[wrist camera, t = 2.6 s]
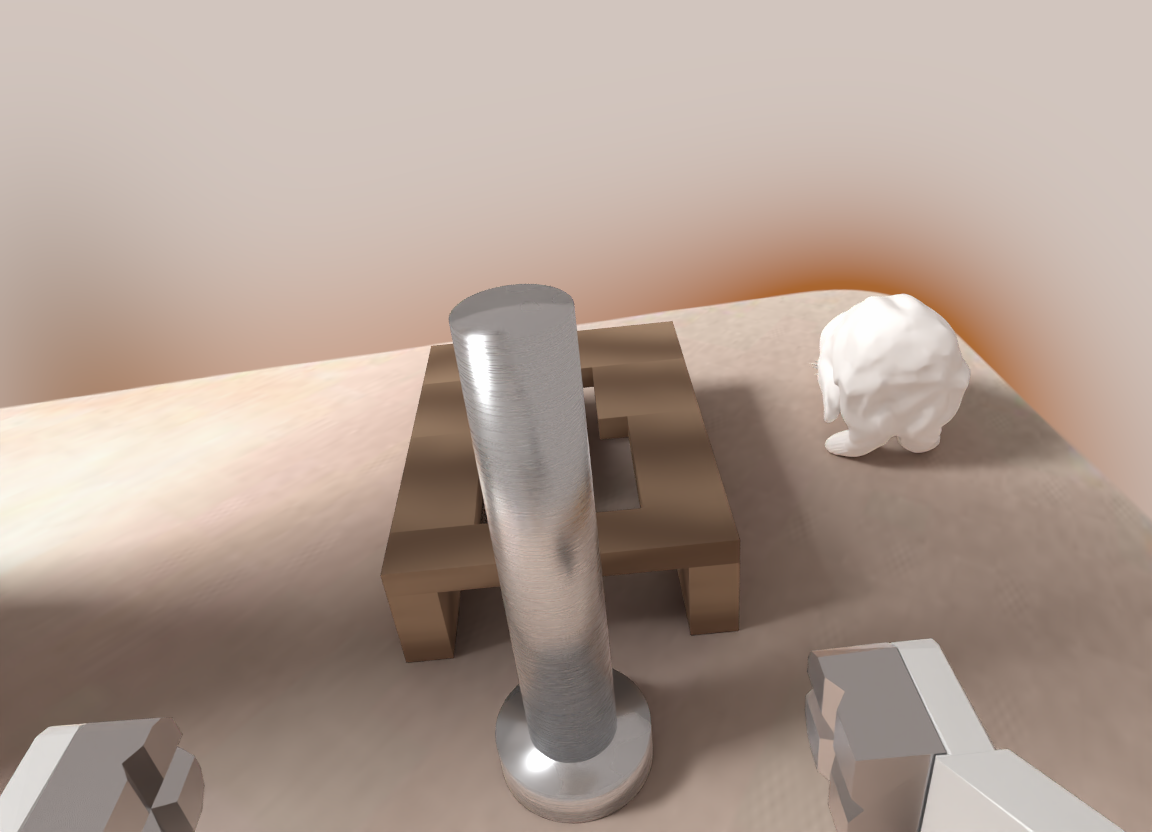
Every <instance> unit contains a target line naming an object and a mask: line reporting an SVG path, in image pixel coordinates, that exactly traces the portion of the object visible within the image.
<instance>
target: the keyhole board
mask: <svg viewBox="0 0 1152 832" xmlns="http://www.w3.org/2000/svg"><path fill="white" fill-rule="evenodd" d="M577 336H578V346H579V355H580V365H581V375H582V384H583V388H585V387H594V391H595V400H596V408H597V417H598V426H599V434H600V440H601V439H611V438H621V437H629V442H630V448H631V454H632V460H633V466H634V472H635V478H636V484H637V490H638V496H639V502H640V508H637V509H627V510H617V511H607V512H597V513H596V519H597V529H598V539H599V548H600V558H601V568H602V576H611V575H621V574H632V573H642V572H652V571H662V570H672V569H677V570H678V575H679V580H680V584H681V589H682V594H683V599H684V604H685V609H686V614H687V619H688V623H689V628H690V633H691V635H696V634H706V633H717V632H727V631H737V630H739V573H740V538H739V535H738V532H737V528H736V525H735V522H734V519H733V515H732V512H731V509H730V506H729V503H728V499H727V496H726V493H725V490H724V486H723V483H722V480H721V477H720V473H719V470H718V467H717V464H716V460H715V457H714V454H713V451H712V448H711V444H710V441H709V438H708V435H707V431H706V428H705V425H704V422H703V418H702V415H701V412H700V409H699V406H698V402H697V399H696V396H695V393H694V389H693V386H692V383H691V380H690V376H689V373H688V370H687V367H686V363H685V360H684V357H683V354H682V351H681V347H680V344H679V341H678V338H677V334H676V331H675V328H674V325H673V321H670V322H661V323H651V324H641V325H631V326H622V327H612V328H602V329H592V330H583V331H577ZM482 498H483V494H482V489H481V484H480V479H479V474H478V469H477V463H476V458H475V453H474V448H473V443H472V438H471V433H470V427H469V422H468V417H467V412H466V407H465V402H464V397H463V392H462V386H461V381H460V376H459V371H458V366H457V361H456V356H455V350H454V345H453V344H446V345H436V346H431V350H430V354H429V359H428V363H427V368H426V372H425V377H424V381H423V386H422V391H421V395H420V400H419V404H418V409H417V413H416V418H415V422H414V427H413V431H412V436H411V440H410V445H409V449H408V454H407V458H406V463H405V467H404V472H403V476H402V481H401V485H400V490H399V494H398V499H397V503H396V508H395V512H394V517H393V521H392V526H391V530H390V535H389V539H388V544H387V548H386V553H385V557H384V562H383V566H382V571H381V579H382V582H383V585H384V589H385V592H386V595H387V599H388V602H389V605H390V609H391V612H392V615H393V619H394V622H395V625H396V629H397V632H398V636H399V639H400V642H401V646H402V649H403V652H404V656H405V659H406V662H416V661H426V660H437V659H447V658H454V650H455V640H456V631H457V621H458V612H459V602H460V593H461V590H468V589H478V588H488V587H498V586H500V581H499V576H498V571H497V566H496V561H495V556H494V551H493V546H492V540H491V535H490V530H489V525H488V523H485V524H480V522H481V510H482Z"/></svg>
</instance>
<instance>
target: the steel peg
mask: <svg viewBox="0 0 1152 832" xmlns="http://www.w3.org/2000/svg"><path fill="white" fill-rule="evenodd" d="M449 324H450V330H451V335H452V340H453V345H454V350H455V356H456V361H457V366H458V371H459V376H460V381H461V386H462V392H463V397H464V402H465V407H466V412H467V417H468V422H469V427H470V433H471V438H472V443H473V448H474V453H475V458H476V463H477V469H478V474H479V479H480V484H481V489H482V494H483V499H484V504H485V510H486V515H487V520H488V525H489V530H490V535H491V540H492V546H493V551H494V556H495V561H496V566H497V571H498V576H499V581H500V587H501V592H502V597H503V602H504V607H505V612H506V617H507V623H508V628H509V633H510V638H511V643H512V648H513V653H514V659H515V664H516V669H517V674H518V679H519V685H518V686H516V688H515V689H514V690H513V691H512V692H511V693H510V694H509V696H508V697H507V699H506V700H505V702H504V704H503V705H502V707H501V710H500V712H499V715H498V718H497V723H496V732H495V735H496V744H497V748H498V753H499V757H500V761H501V766H502V770H503V774H504V778H505V781H506V783H507V786H508V788H509V789H510V791H511V793H512V794H513V795H514V797H515V798H516V799H517V800H518V802H520V803H521V804H522V805H523V806H524V807H525V808H527V809H528V810H530V811H531V812H533V813H534V814H536V815H538V816H541V817H543V818H546V819H549V820H552V821H557V822H562V823H582V822H588V821H593V820H597V819H600V818H603V817H606V816H608V815H610V814H612V813H614V812H616V811H617V810H619V809H620V808H622V807H623V806H625V805H626V804H627V803H628V802H629V801H631V800H632V799H633V798H634V796H635V795H636V794H637V793H638V792H639V790H640V789H641V788H642V786H643V785H644V783H645V781H646V779H647V777H648V775H649V772H650V769H651V765H652V759H653V742H652V728H651V717H650V711H649V707H648V704H647V702H646V700H645V697H644V696H643V694H642V693H641V691H640V689H639V688H638V687H637V686H636V685H635V684H634V683H633V682H632V681H631V680H630V679H629V678H628V677H626V676H625V675H623V674H622V673H620V672H618V671H616V670H614V669H612V664H611V654H610V645H609V635H608V625H607V616H606V606H605V597H604V587H603V577H602V568H601V558H600V548H599V539H598V529H597V519H596V510H595V500H594V490H593V481H592V471H591V462H590V452H589V442H588V433H587V423H586V413H585V404H584V394H583V384H582V375H581V365H580V355H579V346H578V336H577V326H576V317H575V307H574V301H573V299H572V298H571V296H570V295H569V294H567V293H566V292H564V291H562V290H560V289H558V288H555V287H551V286H546V285H537V284H516V285H507V286H502V287H496V288H492V289H488V290H485V291H482V292H479V293H477V294H474V295H472V296H470V297H468V298H466V299H464V300H463V301H461V302H460V303H459V304H457V306H455V307H454V308H453V310H452V311H451V313H450V315H449Z"/></svg>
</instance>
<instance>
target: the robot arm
mask: <svg viewBox="0 0 1152 832" xmlns="http://www.w3.org/2000/svg"><path fill="white" fill-rule="evenodd" d="M807 672H808V675H809V678H810V681H811V684H812V687H813V688H812V689H811V690H810V691H809V692H808V694H807V695H806V703H805V716H806V725H807V734H808V739H809V743H810V747H811V752H812V755H813V758H814V762H815V765H816V768H817V771H818V772H819V773H820V774H821V775H822V776H824V777H825V778H826V779H827V780H828V781H830V784H829V796H828V806H829V809H830V812H831V815H832V819H833V822H834V825H835V828H836V831H837V832H1126V831H1124V830H1123V829H1121V828H1120V827H1118V826H1117V825H1116V824H1114V823H1113V822H1111V821H1110V820H1109V819H1107V818H1106V817H1104V816H1103V815H1101V814H1100V813H1099V812H1097V811H1096V810H1094V809H1093V808H1092V807H1090V806H1089V805H1087V804H1086V803H1084V802H1083V801H1082V800H1080V799H1079V798H1077V797H1076V796H1075V795H1073V794H1072V793H1070V792H1069V791H1068V790H1066V789H1065V788H1063V787H1062V786H1060V785H1059V784H1058V783H1056V782H1055V781H1053V780H1052V779H1051V778H1049V777H1048V776H1046V775H1045V774H1043V773H1042V772H1041V771H1039V770H1038V769H1036V768H1035V767H1034V766H1032V765H1031V764H1029V763H1028V762H1026V761H1025V760H1024V759H1022V758H1021V757H1019V756H1018V755H1017V754H1015V753H1014V752H1012V751H1011V750H1009V749H1000V750H996V749H995V747H994V745H993V743H992V741H991V740H990V738H989V736H988V734H987V732H986V730H985V729H984V727H983V725H982V723H981V721H980V719H979V717H978V716H977V714H976V712H975V710H974V708H973V706H972V704H971V703H970V701H969V699H968V697H967V695H966V693H965V692H964V690H963V688H962V686H961V684H960V682H959V680H958V679H957V677H956V675H955V673H954V671H953V669H952V667H951V666H950V664H949V662H948V660H947V658H946V656H945V655H944V653H943V651H942V649H941V647H940V645H939V644H938V643H937V642H936V641H934V640H933V639H932V638H930V639H920V640H910V641H900V642H892V643H888V642H884V643H876V644H867V645H858V646H849V647H841V648H832V649H823V650H814V651H811V652H810V655H809V657H808V668H807ZM181 737H182V732H181V731H180V729H179V727H178V726H177V724H176V723H175V721H174V719H173V718H150V719H136V720H123V721H109V722H96V723H85V724H74V725H62V726H51V727H48V728H47V729H45V730H44V731H43V732H42V733H40V734H39V735H38V736H37V737H36V738H35V739H34V741H33V743H32V744H31V746H30V748H29V749H28V751H27V753H26V754H25V756H24V758H23V759H22V761H21V763H20V764H19V766H18V768H17V769H16V771H15V773H14V774H13V776H12V778H11V779H10V781H9V783H8V784H7V786H6V788H5V789H4V791H3V792H2V794H1V796H0V832H195V829H196V826H197V824H198V821H199V818H200V815H201V812H202V807H203V797H204V786H205V785H204V780H203V775H202V770H201V767H200V765H199V763H198V761H197V759H196V757H195V756H194V755H192V754H190V753H188V752H187V751H185V750H183V749H181V748H179V747H178V744H179V742H180V739H181Z"/></svg>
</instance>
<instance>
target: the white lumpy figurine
mask: <svg viewBox="0 0 1152 832" xmlns="http://www.w3.org/2000/svg"><path fill="white" fill-rule="evenodd" d="M816 362H817V363H818V364H814V363H810V364H812V365H815V366H817V367H813V368H816V369H818V373H817V374H815V375H818V382H819V385H820V388H821V391H822V394H823V404H824V421H825V422H826V423H830V422H832V421H834V420H835V419H836V418H837V417H838V415H839V413H840V411H841V415H842V418H843V420H844V422H845V423H846V424H847V426H848V428H849V430H844V431H841V432H839V433H836V434H834V435H832V436H830V437H829V438H828V439H827V440H826V443H825V447H826V449H827V450H828V451H829V452H830V453H833V454H835V455H842V456H849V457H858V456H862V455H865V454H867V453H869V452H871V451H873V450H875V449H877V448H878V447H880V446H883V445H884V444H886V443H887V442H888V441H889V439H890V438H892V437H894V436H898V438H897V440H898V442H899V444H900V445H901V446H902V447H904V448H905V449H907V450H909V451H911V452H913V453H921V452H926V451H929V450H931V449H934V448H935V447H936V446H938V444H939V443H940V438H941V437H940V433H941V431H942V426H944V425H945V424H946V423H948V422H949V421H950V420H951V419H952V418H953V417H954V416H955V414H956V413H957V411H958V409H959V407H960V404H961V402H962V398H963V395H964V393H965V391H966V389H967V387H968V385H969V380H970V368H969V366H968V365H967V363H966V362H965V360H964V359H963V357H962V354H961V351H960V348H959V345H958V341H957V337H956V334H955V332H954V330H953V329H952V328H951V326H950V325H949V324H948V322H947V321H946V320H945V319H944V318H943V317H941V316H940V315H939V314H938V313H936V312H935V311H934V310H932V309H931V308H929V307H928V306H926V305H925V304H923V303H922V302H921V301H919V300H918V299H916V298H914V297H912V296H910V295H907V294H898V295H892V296H887V297H880V296H870V297H868V298H866V299H865V300H864V301H863V302H860V303H858V304H856V305H854V306H853V307H852V308H851V309H850V310H849V311H846V312H843V313H841V314H839V315H838V316H836V317H835V318H834V319H833V320H832V321H830V322H829V323H828V324H827V325H826V327H825V328H824V329H823V331H822V333H821V337H820V357H819V359H818V361H816ZM809 367H810V366H809Z"/></svg>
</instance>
